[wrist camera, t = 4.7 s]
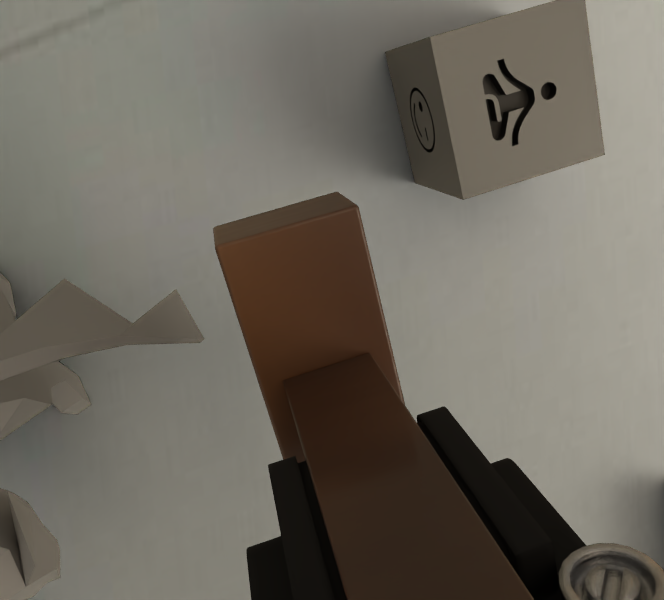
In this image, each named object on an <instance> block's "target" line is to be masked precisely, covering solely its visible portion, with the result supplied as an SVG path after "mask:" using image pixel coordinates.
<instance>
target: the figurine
mask: <svg viewBox="0 0 664 600" xmlns="http://www.w3.org/2000/svg"><path fill="white" fill-rule="evenodd" d="M16 316H17V315H16V310H15V305H14V300H13V295H12V290H11V285H10V283H9V281H8V280H7V279H6V278H5V277H4V276H3V275H2V274H1V273H0V440H2V439H3V438H5V437H6V436H7V435H9V434H10V433H12V432H13V431H15V430H16V429H18V428H19V427H20V426H22V425H23V424H25V423H26V422H28V421H29V420H31V419H32V418H33V417H35V416H36V415H38V414H39V413H41V412H42V411H43V410H45V409H46V408H48V407H49V406H51V405H52V404H53V405H54V406H55V407H56V408H57V409H58V410H59V411H60V412H61V413H67V414H79V413H80V412H82V411H83V410H85V409H86V408H88V407H89V406H90V405H91V403H90V401H89V399H88V396H87V394H86V392H85V390H84V388H83V386H82V383H81V381H80V379H79V376H78V375H76V374H75V373H74V372H72V371H71V370H69V369H68V368H67V367H65V366H64V365H63V364H61V363H60V362H58V360H61V359H64V358H67V357H72V356H76V355H81V354H86V353H91V352H95V351H100V350H105V349H110V348H115V347H119V346H124V345H137V344H172V343H201V342H202V341H203V340H204V337H203V336H202V334H201V332H200V330H199V329H198V327H197V325H196V323H195V322H194V320H193V318H192V316H191V314H190V313H189V311H188V309H187V307H186V306H185V304H184V302H183V300H182V299H181V297H180V295H179V293H178V292H177V290H174V291H173V292H172V293H171V294H169V295H168V296H167V297H166V298H164V299H163V300H162V301H161V302H159V303H158V304H157V305H155V306H154V307H153V308H152V309H150V310H149V311H148V312H147V313H145V314H144V315H143V316H142V317H140V318H139V319H138V320H137V321H135V322H134V323H131V322H130V321H128V320H127V319H125V318H123V317H122V316H120V315H119V314H117V313H116V312H114V311H113V310H111V309H110V308H108V307H107V306H105V305H104V304H102V303H101V302H99V301H98V300H96V299H95V298H93V297H92V296H90V295H89V294H87V293H86V292H84V291H83V290H81V289H79V288H78V287H76V286H75V285H73V284H72V283H70V282H69V281H67V280H66V279H63V280H62V281H61V282H60V283H59V284H58V285H56V286H55V287H54V288H53V289H52V290H51V291H49V292H48V293H47V294H46V295H45V296H44V297H42V298H41V299H40V300H39V301H38V302H37V303H36V304H34V305H33V306H32V307H31V308H30V309H29V310H27V311H26V312H25V313H24V314H23V315H22V316H20V317H19V318H18V319H17V320H15V317H16ZM58 578H60V548H59V545H58V542H57V539H56V538H55V537H54V536H53V535H52V534H51V533H50V532H49V531H48V530H47V528H46V527H45V526H44V525H43V524H42V522H41V521H40V519H39V518H38V516H37V515H36V514H35V512H34V511H33V509H32V508H31V506H30V505H29V503H28V502H26V501H25V500H23V499H22V498H20V497H19V496H17V495H16V494H14V493H12V492H9V491H7V490H4V489H1V488H0V600H26V599H28V598H31V597H33V596H34V595H35V594H36V593H37V592H38V591H39V590H40V589H41V588H42V587H43V586H44V585H45V584H46V583H48V582H50V581H53V580H56V579H58Z"/></svg>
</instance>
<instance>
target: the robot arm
mask: <svg viewBox="0 0 664 600" xmlns="http://www.w3.org/2000/svg"><path fill="white" fill-rule="evenodd" d="M417 424H418V426H419V427H420V429H421V430H422V432H423V433H424V435H425V436H426V438H427V439H428V441H429V442H430V444H431V445H432V447H433V448H434V450H435V451H436V453H437V454H438V456H439V457H440V459H441V460H442V462H443V463H444V465H445V466H446V468H447V469H448V471H449V472H450V474H451V475H452V477H453V478H454V480H455V481H456V483H457V484H458V486H459V487H460V489H461V490H462V492H463V493H464V495H465V496H466V498H467V499H468V501H469V502H470V504H471V505H472V507H473V508H474V510H475V511H476V513H477V514H478V516H479V517H480V519H481V520H482V522H483V523H484V525H485V526H486V528H487V529H488V531H489V532H490V534H491V535H492V537H493V538H494V540H495V541H496V543H497V544H498V546H499V547H500V549H501V550H502V552H503V553H504V555H505V556H506V558H507V559H508V561H509V562H510V564H511V565H512V567H513V568H514V570H515V571H516V573H517V574H518V576H519V577H520V579H521V580H522V582H523V583H524V585H525V586H526V588H527V589H528V591H529V592H530V594H531V595H532V597H533V598H534V600H664V570H663V569H662V568H661V567H660V566H659V565H658V564H657V563H656V562H655V561H653V560H652V559H651V558H650V557H648V556H647V555H646V554H644V553H642V552H640V551H638V550H636V549H633V548H631V547H628V546H623V545H619V544H614V543H597V544H592V545H588V546H586V545H585V544H584V542H583V541H582V540H581V539H580V538H579V537H578V535H577V534H576V533H575V532H574V531H573V530H572V528H571V527H570V526H569V525H568V524H567V523H566V521H565V520H564V519H563V518H562V517H561V516H560V515H559V513H558V512H557V511H556V510H555V509H554V508H553V506H552V505H551V504H550V503H549V502H548V501H547V499H546V498H545V497H544V496H543V495H542V494H541V492H540V491H539V490H538V489H537V488H536V487H535V485H534V484H533V483H532V482H531V481H530V480H529V479H528V477H527V476H526V475H525V474H524V473H523V472H522V470H521V469H520V468H519V467H518V466H517V465H516V463H514V462H513V461H512V460H511V459H509V458H506V459H503V460H500V461H497V462H494V463H491V464H490V462H489V461H488V460H487V459H486V457H485V456H484V455H483V454H482V452H481V451H480V450H479V449H478V447H477V446H476V445H475V443H474V442H473V441H472V440H471V438H470V437H469V436H468V435H467V433H466V432H465V431H464V430H463V428H462V427H461V426H460V425H459V423H458V422H457V421H456V420H455V418H454V417H453V416H452V414H451V413H450V412H449V411H448V409H447V408H446V407H441V408H438V409H435V410H432V411H428V412H425V413H422V414H419V415H417ZM268 468H269V473H270V479H271V484H272V489H273V495H274V500H275V505H276V510H277V516H278V521H279V526H280V531H281V536H280V537H277V538H274V539H271V540H269V541H266V542H263V543H260V544H257V545H254V546H251V547H248V548H247V562H248V572H249V581H250V590H251V600H347V599H346V595H345V592H344V588H343V585H342V582H341V578H340V575H339V571H338V568H337V565H336V561H335V558H334V554H333V551H332V548H331V544H330V541H329V537H328V534H327V531H326V527H325V524H324V520H323V517H322V514H321V510H320V507H319V503H318V500H317V497H316V493H315V490H314V486H313V483H312V480H311V476H310V473H309V469H308V466H307V463H306V461H303V462H300V463H298V462H297V459H296V456H293V457H290V458H287V459H284V460H281V461H278V462H275V463H272V464H269V465H268Z"/></svg>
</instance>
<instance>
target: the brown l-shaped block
mask: <svg viewBox="0 0 664 600" xmlns="http://www.w3.org/2000/svg"><path fill="white" fill-rule="evenodd" d="M213 233H214V242H215V250H216V253H217V256H218V259H219V262H220V265H221V268H222V271H223V275H224V278H225V281H226V284H227V287H228V290H229V293H230V296H231V299H232V302H233V305H234V308H235V312H236V315H237V318H238V321H239V324H240V327H241V330H242V333H243V336H244V339H245V342H246V346H247V349H248V352H249V355H250V358H251V361H252V364H253V367H254V370H255V373H256V376H257V379H258V383H259V386H260V389H261V392H262V395H263V398H264V401H265V404H266V407H267V410H268V413H269V417H270V420H271V423H272V426H273V429H274V432H275V435H276V438H277V441H278V444H279V447H280V450H281V454H282V457H283V460H284V459H287V458H290V457H293V456H296V459H297V462H298V463H300V462H303V461H306V463H307V466H308V469H309V473H310V476H311V480H312V483H313V486H314V490H315V493H316V497H317V500H318V503H319V507H320V510H321V514H322V517H323V520H324V524H325V527H326V531H327V534H328V537H329V541H330V544H331V548H332V551H333V554H334V558H335V561H336V565H337V568H338V571H339V575H340V578H341V582H342V585H343V588H344V592H345V595H346V599H347V600H534V598H533V597H532V595H531V594H530V592H529V591H528V589H527V588H526V586H525V585H524V583H523V582H522V580H521V579H520V577H519V576H518V574H517V573H516V571H515V570H514V568H513V567H512V565H511V564H510V562H509V561H508V559H507V558H506V556H505V555H504V553H503V552H502V550H501V549H500V547H499V546H498V544H497V543H496V541H495V540H494V538H493V537H492V535H491V534H490V532H489V531H488V529H487V528H486V526H485V525H484V523H483V522H482V520H481V519H480V517H479V516H478V514H477V513H476V511H475V510H474V508H473V507H472V505H471V504H470V502H469V501H468V499H467V498H466V496H465V495H464V493H463V492H462V490H461V489H460V487H459V486H458V484H457V483H456V481H455V480H454V478H453V477H452V475H451V474H450V472H449V471H448V469H447V468H446V466H445V465H444V463H443V462H442V460H441V459H440V457H439V456H438V454H437V453H436V451H435V450H434V448H433V447H432V445H431V444H430V442H429V441H428V439H427V438H426V436H425V435H424V433H423V432H422V430H421V429H420V427H419V426H418V424H417V423H416V421H415V420H414V418H413V417H412V415H411V414H410V412H409V411H408V409H407V408H406V406H405V403H404V398H403V394H402V390H401V386H400V381H399V377H398V373H397V369H396V364H395V360H394V356H393V352H392V347H391V343H390V339H389V335H388V330H387V326H386V322H385V318H384V313H383V309H382V305H381V301H380V296H379V292H378V288H377V284H376V279H375V275H374V271H373V267H372V262H371V258H370V254H369V250H368V245H367V241H366V237H365V232H364V228H363V224H362V220H361V215H360V211H359V207H358V206H357V205H356V204H354V203H353V202H352V201H350V200H349V199H347V198H346V197H344V196H343V195H342V194H340V193H339V192H334V193H330V194H327V195H323V196H320V197H316V198H313V199H309V200H306V201H302V202H299V203H295V204H292V205H288V206H285V207H282V208H278V209H275V210H271V211H268V212H264V213H261V214H257V215H254V216H250V217H247V218H243V219H240V220H236V221H233V222H229V223H226V224H222V225H219V226H216V227H214V228H213Z"/></svg>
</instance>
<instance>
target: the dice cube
mask: <svg viewBox="0 0 664 600" xmlns="http://www.w3.org/2000/svg"><path fill="white" fill-rule="evenodd" d="M385 54H386V59H387V63H388V67H389V72H390V76H391V80H392V85H393V89H394V93H395V98H396V102H397V106H398V111H399V115H400V119H401V124H402V128H403V133H404V137H405V141H406V146H407V150H408V154H409V159H410V163H411V167H412V172H413V176H414V180H415V183H417V184H419V185H422V186H425V187H428V188H431V189H434V190H437V191H440V192H443V193H446V194H449V195H451V196H454V197H457V198H460V199H463V200H464V199H467V198H470V197H474V196H477V195H480V194H483V193H486V192H489V191H492V190H495V189H499V188H502V187H505V186H508V185H511V184H514V183H517V182H521V181H524V180H527V179H530V178H533V177H536V176H539V175H543V174H546V173H549V172H552V171H555V170H558V169H561V168H565V167H568V166H571V165H574V164H577V163H580V162H583V161H587V160H590V159H593V158H596V157H599V156H602V155H605V153H604V145H603V137H602V129H601V121H600V114H599V106H598V98H597V90H596V82H595V75H594V67H593V59H592V51H591V43H590V36H589V28H588V20H587V12H586V4H585V0H555V1H552V2H549V3H545V4H542V5H538V6H535V7H531V8H528V9H525V10H521V11H518V12H514V13H511V14H507V15H504V16H500V17H497V18H494V19H490V20H487V21H483V22H480V23H476V24H473V25H469V26H466V27H463V28H459V29H456V30H452V31H449V32H445V33H442V34H438V35H435V36H432V37H428V38H425V39H422V40H419V41H416V42H413V43H410V44H407V45H404V46H401V47H398V48H395V49H392V50H389V51H386V52H385Z"/></svg>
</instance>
